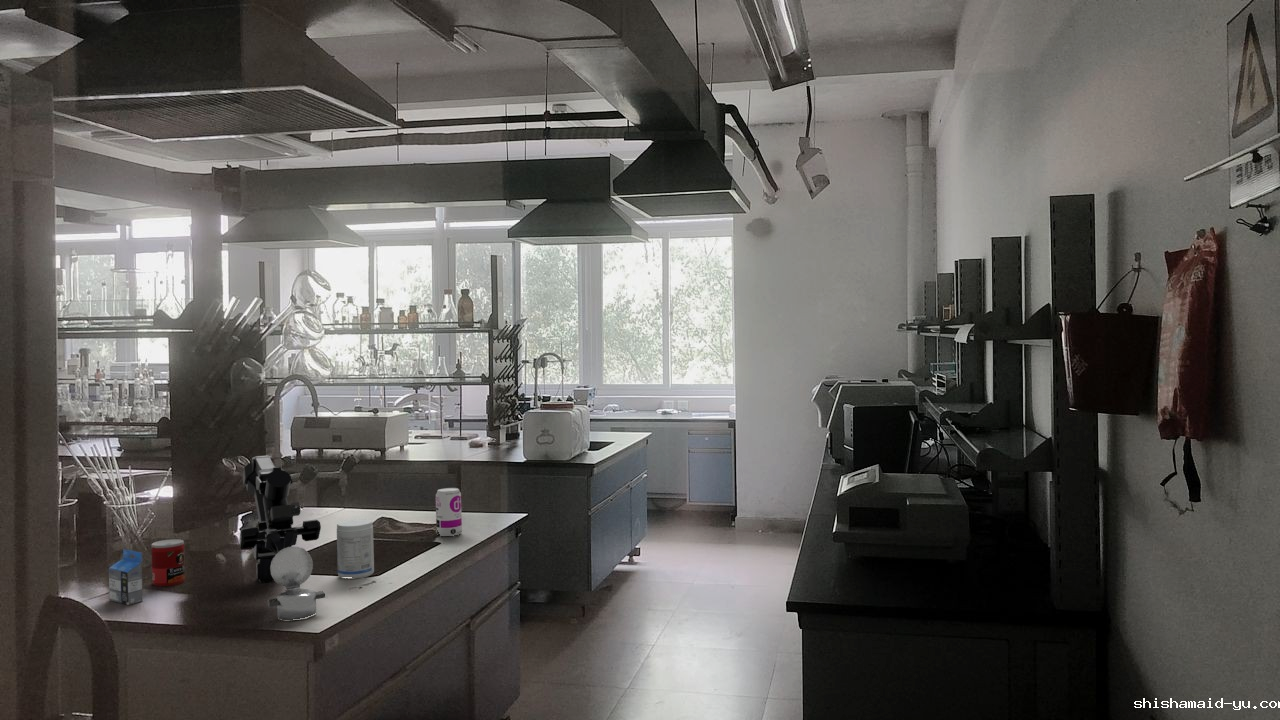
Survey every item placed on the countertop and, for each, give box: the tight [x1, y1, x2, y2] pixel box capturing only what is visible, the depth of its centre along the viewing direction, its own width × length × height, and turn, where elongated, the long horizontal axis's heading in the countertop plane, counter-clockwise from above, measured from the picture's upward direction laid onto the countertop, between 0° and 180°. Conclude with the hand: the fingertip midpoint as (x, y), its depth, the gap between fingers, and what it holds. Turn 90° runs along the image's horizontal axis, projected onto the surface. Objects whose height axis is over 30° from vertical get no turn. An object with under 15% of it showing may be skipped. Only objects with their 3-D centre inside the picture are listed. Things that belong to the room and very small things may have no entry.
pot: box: [267, 587, 326, 620], centre depth 198 cm, size 12×10×5 cm
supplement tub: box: [336, 518, 375, 580], centre depth 233 cm, size 10×10×15 cm
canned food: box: [150, 538, 186, 587], centre depth 229 cm, size 8×8×11 cm
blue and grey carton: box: [108, 548, 143, 606], centre depth 213 cm, size 9×4×12 cm, turn 59°
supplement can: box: [435, 487, 463, 537], centre depth 281 cm, size 8×8×15 cm
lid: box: [270, 546, 314, 590], centre depth 203 cm, size 10×9×2 cm
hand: (285, 562), depth 211 cm, fingers closed
